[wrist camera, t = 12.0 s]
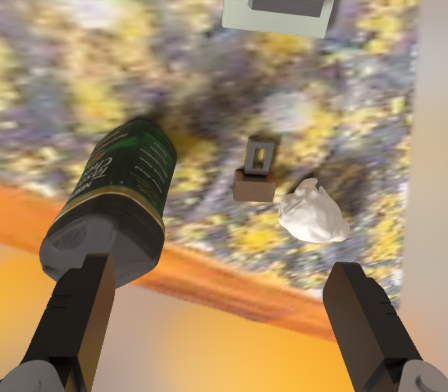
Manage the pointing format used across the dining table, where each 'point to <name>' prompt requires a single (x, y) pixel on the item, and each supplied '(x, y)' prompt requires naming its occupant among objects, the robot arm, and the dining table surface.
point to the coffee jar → (116, 205)
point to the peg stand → (275, 20)
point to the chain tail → (256, 174)
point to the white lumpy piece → (312, 214)
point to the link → (289, 6)
